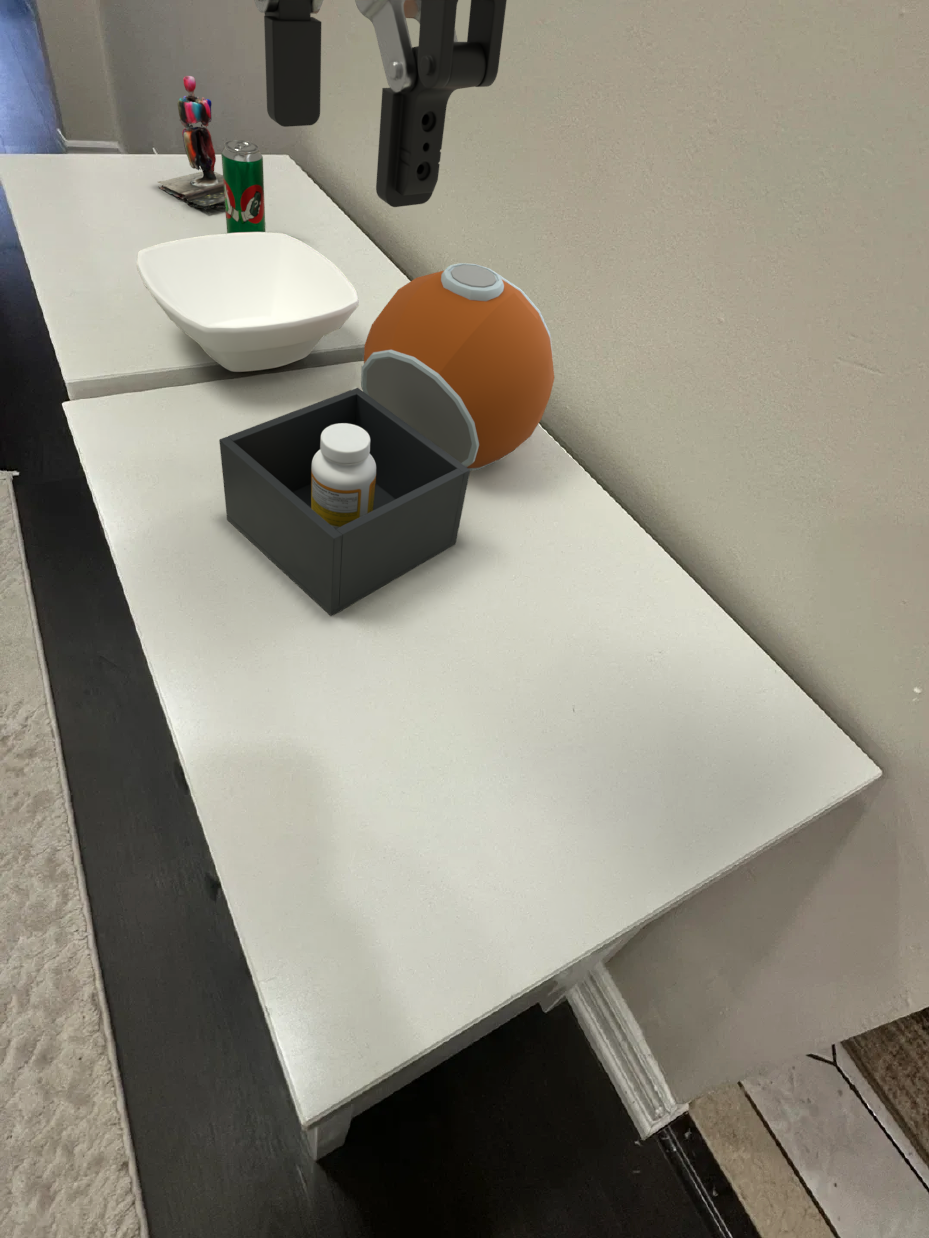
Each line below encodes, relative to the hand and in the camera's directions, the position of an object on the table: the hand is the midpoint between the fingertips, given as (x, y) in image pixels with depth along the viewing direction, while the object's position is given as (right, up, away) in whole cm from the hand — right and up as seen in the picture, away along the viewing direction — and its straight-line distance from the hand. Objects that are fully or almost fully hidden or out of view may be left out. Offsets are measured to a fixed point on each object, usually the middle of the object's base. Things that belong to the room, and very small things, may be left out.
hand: (345, 160), depth 32 cm
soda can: (-25, +32, +73) cm, 84 cm away
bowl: (-19, +12, +56) cm, 60 cm away
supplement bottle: (-6, -11, +38) cm, 40 cm away
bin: (-6, -11, +38) cm, 40 cm away
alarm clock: (+3, +1, +51) cm, 51 cm away
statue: (-33, +44, +82) cm, 98 cm away
